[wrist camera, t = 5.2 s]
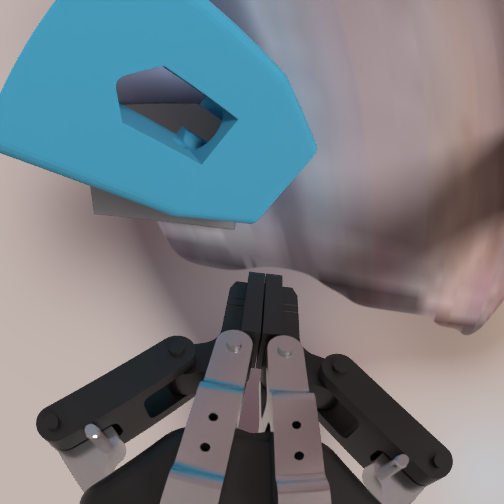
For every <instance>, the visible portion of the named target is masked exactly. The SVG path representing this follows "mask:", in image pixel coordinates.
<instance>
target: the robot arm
mask: <svg viewBox="0 0 504 504" xmlns="http://www.w3.org/2000/svg"><path fill="white" fill-rule="evenodd" d="M264 281H265V284H264ZM256 357H257V363H256V368H259V369H261V378H260V383H259V405H260V406H259V408H260V409H259V410H260V424H259V433H249V432H246V431H243V430H240V429H238V423H239V417H240V413H241V409H242V404H243V399H244V394H245V389H246V384H247V381H248V379H249V375H250V369H251V368H254V367H255V362H256ZM194 396H195V399H194V402H193V405H192V408H191V411H190V414H189V418H188V421H187V424H186V427H184V428H180V429H177V430H175V431H172V432H170V433H169V434H167V435H165V436H164V437H163V438H161V439H160V440H158V441H157V442H156V443H154V444H153V445H152V446H150V447H149V448H147V449H146V450H145V451H143V452H142V453H140V454H139V455H138V456H136V457H135V458H133V459H132V460H130V461H129V462H127V463H126V464H125V465H123V466H121V467H120V468H118V469H117V470H115V471H114V469H115V467H116V466H117V464H119V463H120V462H121V461H122V460H123V459H124V457H125V454H126V446H125V443H126V442H128V441H129V440H131V439H133V438H134V437H136V436H137V435H139V434H140V433H142V432H143V431H145V430H146V429H148V428H150V427H151V426H152V425H154V424H155V423H157V422H158V421H160V420H161V419H163V418H164V417H166V416H167V415H169V414H170V413H172V412H173V411H175V410H176V409H177V408H179V407H180V406H182V405H183V404H184V403H186V402H187V401H189V400H190V399H191V398H193V397H194ZM319 422H320V423H321V424H322V425H323V426H324V427H325V429H326V430H327V431H328V432H329V433H330V434H331V435H332V436H333V437H334V438H335V439H336V440H337V441H338V442H339V443H340V444H341V445H342V446H343V447H344V449H345V450H347V452H348V453H349V454H350V455H351V456H352V457H353V458H354V459H355V460H356V461H357V462H358V463H359V464H360V465H361V466H362V467H363V468H364V470H363V474H362V479H363V482H364V484H365V485H366V487H367V488H368V489H367V488H366V487H365V486H364V485H363V483H362V482H361V481H360V480H359V479H358V478H357V477H356V476H355V475H354V474H353V473H352V472H351V471H350V469H349V468H348V467H347V466H346V465H345V464H344V463H343V462H342V460H341V459H340V458H339V457H338V456H337V455H336V454H335V453H334V451H333V450H331V449H330V448H329V447H328V446H327V445H325V444H323V443H321V436H320V428H319ZM36 426H37V430H38V432H39V434H40V435H41V436H42V437H43V438H44V439H45V440H46V441H48V442H49V443H50V445H51V446H52V447H54V448H55V449H56V450H57V451H58V452H59V453H60V455H61V457H62V459H63V460H64V462H65V464H66V465H67V467H68V468H69V470H70V472H71V473H72V475H73V476H74V478H75V480H76V481H77V483H78V484H79V485H80V487H81V489H82V490H83V491H84V494H83V496H82V498H81V501H80V504H411V503H412V502H413V501H414V499H415V498H416V497H417V496H418V495H419V494H420V493H421V491H422V490H423V489H424V488H425V487H426V486H427V485H429V484H431V483H433V482H435V481H437V480H439V479H441V478H443V477H445V476H446V475H447V474H448V473H449V472H450V470H451V468H452V464H453V459H452V455H451V453H450V451H449V450H448V449H447V448H446V447H445V446H444V445H442V444H441V443H440V442H439V441H438V440H437V439H436V438H435V437H434V436H433V435H432V434H430V433H429V432H428V431H427V430H426V429H425V428H424V427H423V426H422V425H421V424H420V423H419V422H418V421H416V420H415V419H414V418H413V417H412V416H411V415H410V414H409V413H408V412H407V411H406V410H405V409H404V408H402V407H401V406H400V405H399V404H398V403H397V402H396V401H395V400H394V399H393V398H392V397H391V396H390V395H389V394H387V393H386V392H385V391H384V390H383V389H382V388H381V387H380V386H379V385H378V384H377V383H376V382H375V381H374V380H373V379H372V378H370V377H369V376H368V375H367V374H366V373H365V372H364V371H363V370H362V369H361V368H360V367H359V366H358V365H357V364H356V363H354V362H353V361H352V360H351V359H350V358H349V357H347V356H345V355H342V354H332V355H329V356H327V357H326V358H325V359H324V358H321V357H319V356H316V355H313V354H311V353H309V352H308V351H306V350H305V349H304V348H303V346H302V345H301V343H300V338H299V320H298V300H297V295H296V293H295V292H294V290H293V288H289V287H282V276H281V275H273V274H266V277H265V274H264V273H255V272H249V277H248V283H245V282H235V283H234V284H233V286H232V287H231V288H230V291H229V296H228V301H227V306H226V311H225V316H224V321H223V326H222V330H221V333H220V335H219V336H218V337H217V338H216V339H214V340H212V341H210V342H207V343H200V344H193V342H192V341H191V340H189V339H188V338H186V337H183V336H171V337H168V338H166V339H164V340H163V341H161V342H159V343H158V344H156V345H155V346H153V347H151V348H149V349H148V350H146V351H144V352H143V353H141V354H139V355H138V356H136V357H134V358H133V359H131V360H129V361H128V362H126V363H124V364H122V365H120V366H119V367H117V368H115V369H114V370H112V371H110V372H108V373H107V374H105V375H103V376H102V377H100V378H98V379H96V380H94V381H93V382H91V383H89V384H87V385H86V386H84V387H82V388H80V389H79V390H77V391H75V392H73V393H71V394H70V395H68V396H66V397H64V398H63V399H61V400H59V401H57V402H55V403H53V404H52V405H50V406H48V407H46V408H45V409H43V410H42V411H41V412H40V413H39V415H38V417H37V421H36Z"/></svg>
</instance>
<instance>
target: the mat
mask: <svg viewBox="0 0 504 504" xmlns="http://www.w3.org/2000/svg"><path fill="white" fill-rule="evenodd" d="M124 105H125V106H126V107H128V108H130V109H132V110H134V111H136V112H138V113H139V114H141V115H143V116H145V117H147V118H149V119H150V120H152V121H154V122H156V123H158V124H159V125H161V126H163V127H165V128H166V129H168V130H170V131H172V132H173V133H175V134H177V133H178V131H179V130H180V129H181V127H182V126H183V127H185V128H187V129H188V130H190V131H191V132H193V133H195V134H196V135H198V136H200V137H201V138H203V139H204V140H206V141H210V140H211V139H212V137H213V136H214V135H215V134H216V132H217V130H218V129H219V127H220V125H221V122H222V120H220V119H219V118H218V117H216V116H215V115H213V114H212V113H210V112H209V111H208V110H206V109H205V108H203V107H202V106H201V105H200V104H181V103H152V104H124ZM91 194H92V200H93V207H94V214H100V215H110V216H121V217H130V218H139V219H148V220H157V221H166V222H175V223H184V224H193V225H202V226H210V227H218V228H227V229H235V222H228V221H218V220H207V219H197V218H186V217H175V216H171V215H168V214H165V213H163V212H160V211H157V210H155V209H152V208H149V207H147V206H144V205H141V204H138V203H136V202H133V201H130V200H128V199H125V198H122V197H120V196H117V195H114V194H111V193H109V192H106V191H103V190H101V189H98V188H95V187H92V186H91Z"/></svg>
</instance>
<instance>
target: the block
mask: <svg viewBox="0 0 504 504" xmlns="http://www.w3.org/2000/svg"><path fill="white" fill-rule="evenodd" d="M161 66H163V67H164V68H166V69H167V70H169V71H170V72H172V73H173V74H175V75H176V76H178V77H179V78H181V79H182V80H184V81H185V82H186V83H188V84H189V85H191V86H192V87H194V88H195V89H196V90H198V91H199V92H201V93H202V94H203V95H205V96H206V97H205V98H204V99H203V101H202V102H201V103H200V105H201V106H202V107H203V108H205V109H206V110H208V111H209V112H210V113H212V114H213V115H215V116H216V117H218V118H219V119H220V120H222V122H221V125H220V127H219V129H218V130H217V132H216V134H215V135H214V136H213V137H212V139H211V140H210V141H206V140H204V139H203V138H201V137H200V136H198V135H196V134H195V133H193V132H191V131H190V130H188V129H187V128H185V127H183V126H182V127H181V129H180V130H179V131H178V133H177V134H175V133H173V132H172V131H170V130H168V129H166V128H165V127H163V126H161V125H159V124H158V123H156V122H154V121H152V120H150V119H149V118H147V117H145V116H143V115H141V114H139V113H138V112H136V111H134V110H132V109H130V108H128V107H126V106H125V105H123V104H121V103H119V102H118V96H117V91H116V83H117V81H118V80H119V79H120V78H121V77H122V76H125V75H128V74H132V73H136V72H140V71H144V70H148V69H152V68H157V67H161ZM316 150H317V146H316V143H315V140H314V138H313V135H312V133H311V130H310V128H309V126H308V123H307V121H306V119H305V116H304V114H303V111H302V109H301V107H300V105H299V102H298V100H297V98H296V96H295V93H294V91H293V89H292V87H291V85H290V82H289V80H288V78H287V76H286V75H285V74H284V72H283V71H282V70H281V69H280V68H279V67H278V66H277V65H276V64H275V63H274V62H273V61H272V60H271V59H270V58H269V56H268V55H267V54H266V53H265V52H264V51H263V50H262V49H261V48H260V47H259V46H258V45H257V44H256V43H255V42H254V41H253V40H252V39H251V38H250V37H249V36H248V35H247V34H245V33H244V32H243V31H242V30H241V29H240V28H239V27H238V26H237V25H236V24H235V23H234V22H233V21H232V20H230V19H229V18H228V17H227V16H226V15H225V14H224V13H223V12H221V11H220V10H219V9H218V8H217V7H216V6H215V5H213V4H212V3H211V2H210V1H209V0H56V1H55V2H54V4H53V5H52V6H51V7H50V9H49V10H48V12H47V13H46V14H45V16H44V17H43V19H42V20H41V22H40V23H39V25H38V26H37V28H36V29H35V31H34V32H33V34H32V35H31V37H30V39H29V40H28V42H27V44H26V45H25V47H24V49H23V50H22V52H21V54H20V56H19V57H18V59H17V61H16V63H15V65H14V67H13V68H12V70H11V72H10V74H9V76H8V78H7V80H6V82H5V84H4V86H3V89H2V91H1V93H0V153H2V154H5V155H7V156H10V157H13V158H16V159H19V160H21V161H24V162H27V163H30V164H32V165H35V166H38V167H41V168H43V169H46V170H49V171H51V172H54V173H57V174H60V175H62V176H65V177H68V178H71V179H73V180H76V181H79V182H82V183H84V184H87V185H90V186H92V187H95V188H98V189H101V190H103V191H106V192H109V193H111V194H114V195H117V196H120V197H122V198H125V199H128V200H130V201H133V202H136V203H138V204H141V205H144V206H147V207H149V208H152V209H155V210H157V211H160V212H163V213H165V214H168V215H171V216H175V217H186V218H197V219H207V220H218V221H228V222H238V223H247V224H252V223H255V222H256V221H257V220H258V219H259V218H260V217H261V216H262V215H263V214H264V213H265V211H266V210H267V209H268V208H269V207H270V206H271V204H272V203H273V202H274V201H275V200H276V199H277V197H278V196H279V195H280V194H281V193H282V192H283V191H284V189H285V188H286V187H287V186H288V185H289V184H290V182H291V181H292V180H293V179H294V178H295V177H296V176H297V174H298V173H299V172H300V171H301V170H302V169H303V168H304V166H305V165H306V164H307V163H308V162H309V161H310V160H311V158H312V157H313V156H314V155H315V153H316Z"/></svg>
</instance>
